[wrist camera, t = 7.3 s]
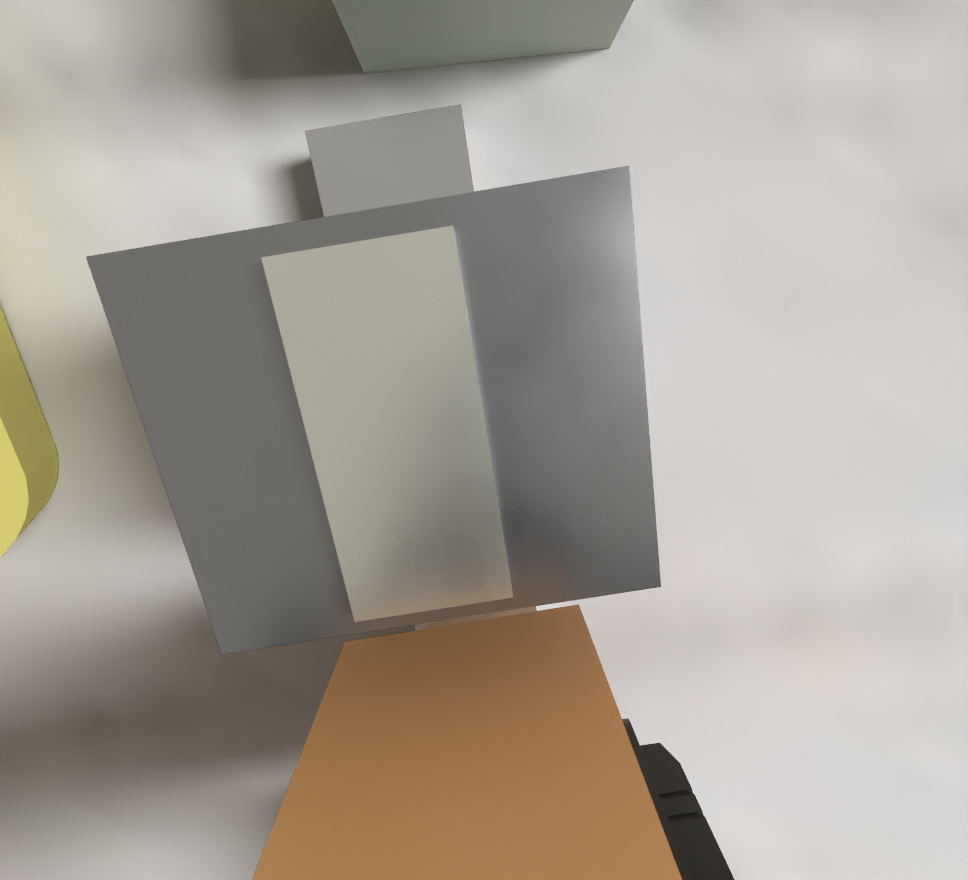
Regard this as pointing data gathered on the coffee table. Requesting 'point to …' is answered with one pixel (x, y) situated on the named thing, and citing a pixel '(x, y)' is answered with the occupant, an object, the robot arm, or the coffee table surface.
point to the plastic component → (21, 445)
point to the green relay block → (474, 29)
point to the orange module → (469, 763)
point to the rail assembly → (398, 393)
